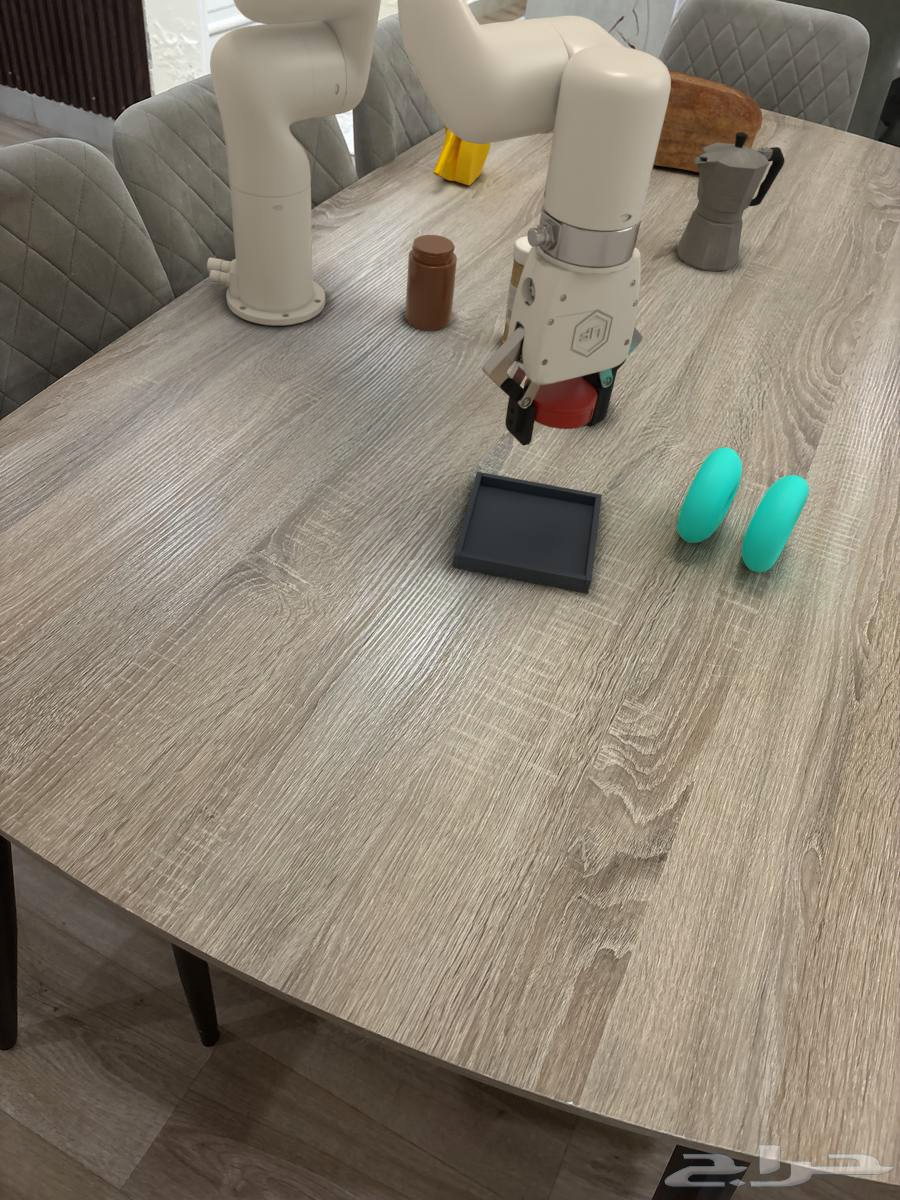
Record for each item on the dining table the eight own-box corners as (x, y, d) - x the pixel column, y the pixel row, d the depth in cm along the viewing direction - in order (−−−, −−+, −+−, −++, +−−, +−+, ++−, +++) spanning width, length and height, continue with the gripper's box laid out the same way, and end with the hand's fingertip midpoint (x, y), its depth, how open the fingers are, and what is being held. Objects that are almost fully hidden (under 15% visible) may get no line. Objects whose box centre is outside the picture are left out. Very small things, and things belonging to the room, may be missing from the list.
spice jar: (543, 349, 120) (561, 247, 110) (514, 357, 118) (530, 255, 108) (522, 332, 122) (537, 231, 112) (493, 340, 120) (507, 238, 110)
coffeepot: (686, 277, 137) (722, 149, 124) (652, 248, 143) (684, 122, 130) (771, 265, 142) (814, 141, 129) (735, 238, 148) (773, 116, 135)
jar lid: (604, 406, 84) (610, 388, 83) (574, 438, 80) (578, 420, 78) (541, 380, 86) (545, 361, 85) (507, 409, 82) (511, 391, 80)
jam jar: (402, 327, 120) (406, 251, 113) (407, 304, 125) (412, 230, 117) (449, 332, 120) (456, 257, 113) (452, 309, 125) (459, 235, 117)
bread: (744, 187, 163) (770, 104, 153) (570, 155, 166) (585, 71, 157) (747, 162, 171) (771, 81, 161) (581, 132, 175) (595, 51, 165)
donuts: (757, 596, 91) (793, 518, 84) (662, 553, 94) (689, 474, 87) (788, 540, 97) (824, 463, 90) (699, 502, 100) (726, 425, 93)
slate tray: (452, 567, 90) (453, 554, 89) (475, 483, 99) (476, 471, 98) (588, 593, 89) (591, 580, 88) (598, 506, 98) (601, 494, 97)
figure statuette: (459, 155, 162) (472, 9, 146) (502, 165, 160) (520, 19, 145) (421, 192, 150) (431, 37, 134) (467, 203, 148) (482, 48, 133)
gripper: (518, 274, 66) (490, 475, 79) (705, 238, 73) (651, 428, 86) (465, 229, 71) (447, 426, 84) (646, 199, 78) (603, 386, 90)
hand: (551, 426), depth 85 cm, fingers closed on jar lid, 6 cm apart
